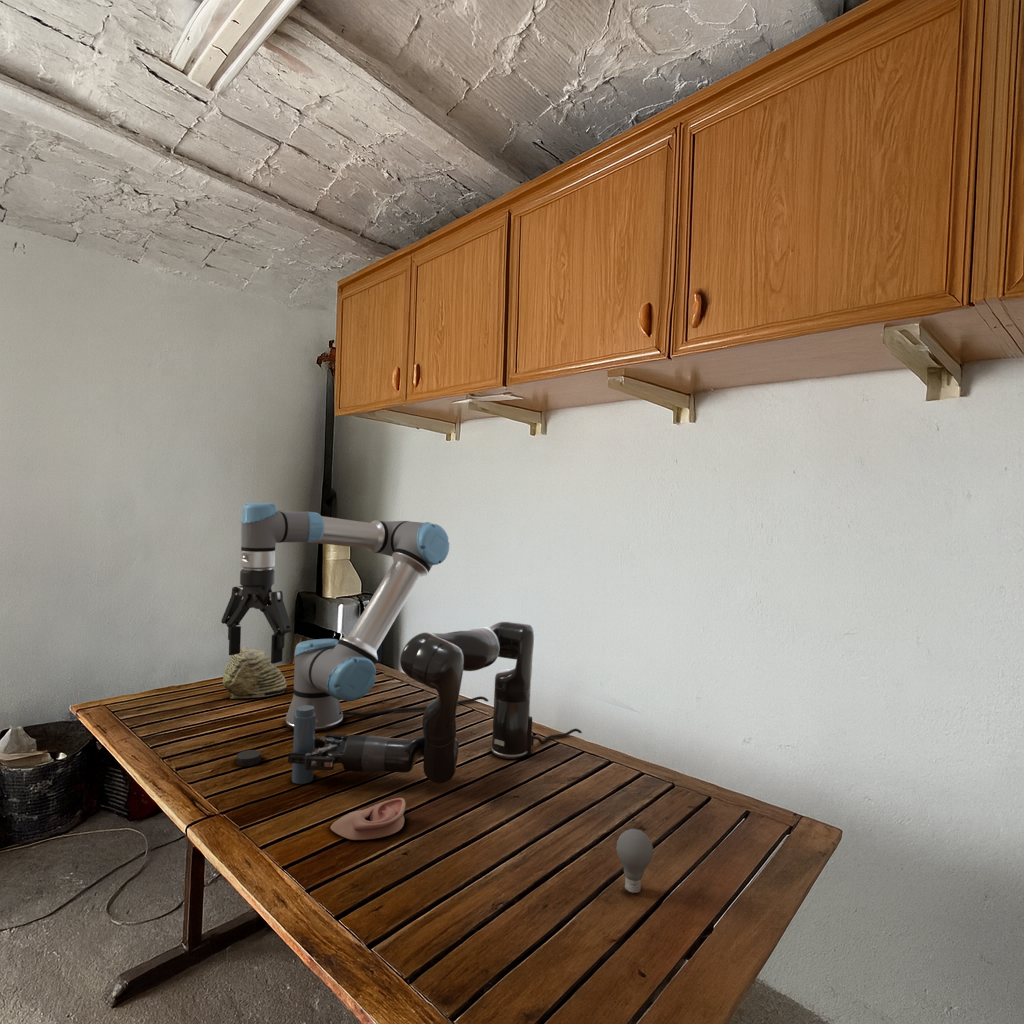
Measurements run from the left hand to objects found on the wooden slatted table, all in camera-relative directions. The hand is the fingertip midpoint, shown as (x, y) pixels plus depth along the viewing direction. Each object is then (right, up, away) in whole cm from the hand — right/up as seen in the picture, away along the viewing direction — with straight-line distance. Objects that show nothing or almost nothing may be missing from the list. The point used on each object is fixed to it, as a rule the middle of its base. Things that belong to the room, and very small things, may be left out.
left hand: (255, 658), depth 149 cm
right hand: (+12, -19, -8) cm, 24 cm away
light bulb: (+81, -29, -44) cm, 96 cm away
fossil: (-20, -23, +49) cm, 57 cm away
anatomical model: (+33, -26, -27) cm, 50 cm away
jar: (+14, -25, -8) cm, 30 cm away
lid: (-1, -23, 0) cm, 23 cm away
